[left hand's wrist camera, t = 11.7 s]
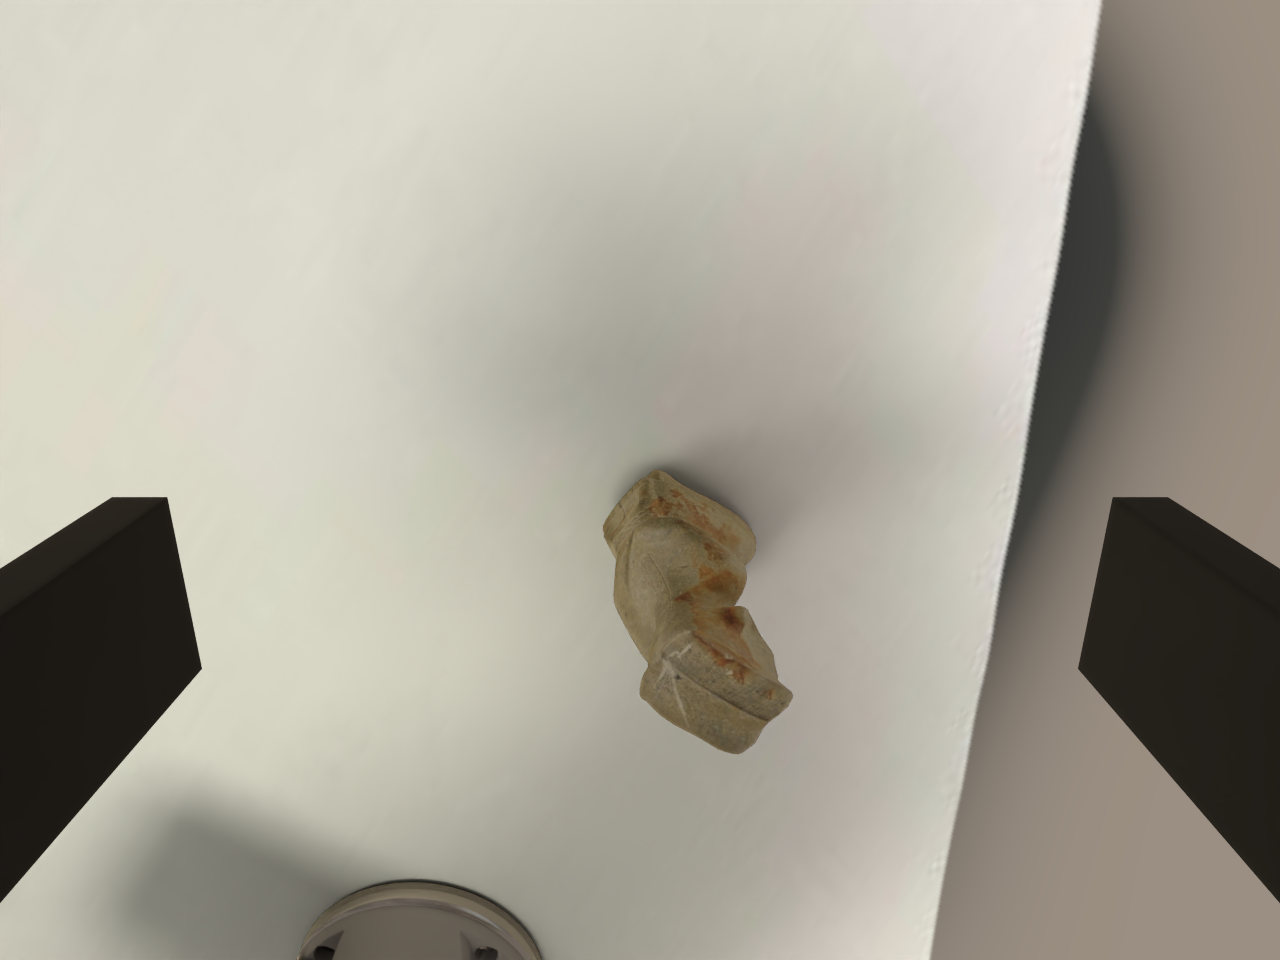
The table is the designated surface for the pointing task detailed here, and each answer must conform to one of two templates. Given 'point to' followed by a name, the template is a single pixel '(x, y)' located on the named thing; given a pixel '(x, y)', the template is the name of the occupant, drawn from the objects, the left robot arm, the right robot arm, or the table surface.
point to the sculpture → (692, 612)
